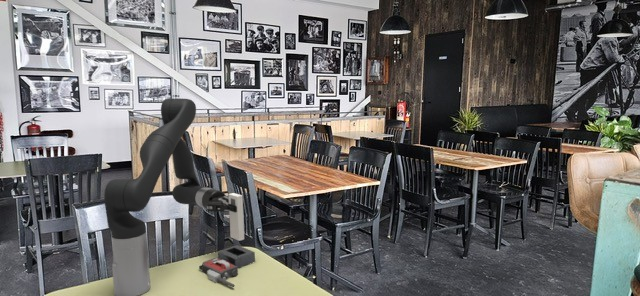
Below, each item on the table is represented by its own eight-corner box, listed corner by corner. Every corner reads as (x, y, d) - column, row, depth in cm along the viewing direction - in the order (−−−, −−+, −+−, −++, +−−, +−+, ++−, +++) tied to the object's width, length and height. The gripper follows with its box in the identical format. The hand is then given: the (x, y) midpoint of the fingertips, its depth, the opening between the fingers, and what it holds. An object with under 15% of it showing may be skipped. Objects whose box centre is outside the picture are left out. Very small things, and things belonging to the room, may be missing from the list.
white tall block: (230, 237, 147) (228, 194, 145) (235, 235, 148) (233, 192, 146) (239, 240, 143) (237, 196, 141) (244, 239, 145) (242, 195, 143)
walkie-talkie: (193, 273, 140) (230, 291, 127) (192, 259, 139) (230, 277, 126) (216, 264, 147) (254, 281, 133) (215, 252, 146) (254, 268, 133)
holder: (218, 261, 148) (217, 251, 148) (237, 254, 154) (237, 244, 154) (235, 269, 142) (234, 259, 141) (255, 261, 147) (254, 252, 147)
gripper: (192, 192, 150) (221, 201, 138) (226, 185, 159) (255, 193, 147) (193, 213, 151) (222, 224, 139) (227, 205, 160) (256, 214, 149)
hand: (239, 208), depth 143 cm, fingers closed on white tall block, 2 cm apart
